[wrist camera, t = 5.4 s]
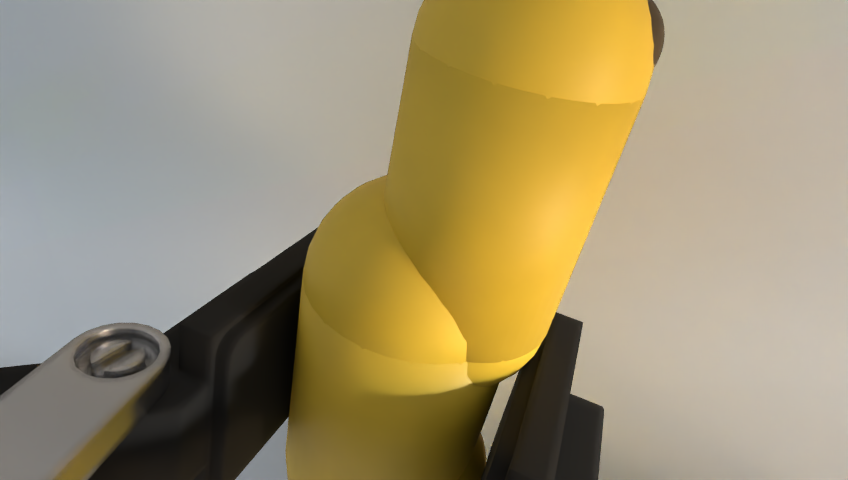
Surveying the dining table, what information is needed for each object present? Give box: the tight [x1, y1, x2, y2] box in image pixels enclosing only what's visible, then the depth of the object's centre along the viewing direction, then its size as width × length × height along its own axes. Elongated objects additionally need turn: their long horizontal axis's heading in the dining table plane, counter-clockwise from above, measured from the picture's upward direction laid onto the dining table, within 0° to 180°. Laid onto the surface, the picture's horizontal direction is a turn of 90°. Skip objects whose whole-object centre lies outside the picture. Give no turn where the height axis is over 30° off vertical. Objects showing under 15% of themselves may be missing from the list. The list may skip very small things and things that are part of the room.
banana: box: [286, 0, 664, 480], centre depth 10 cm, size 14×4×3 cm, turn 167°
